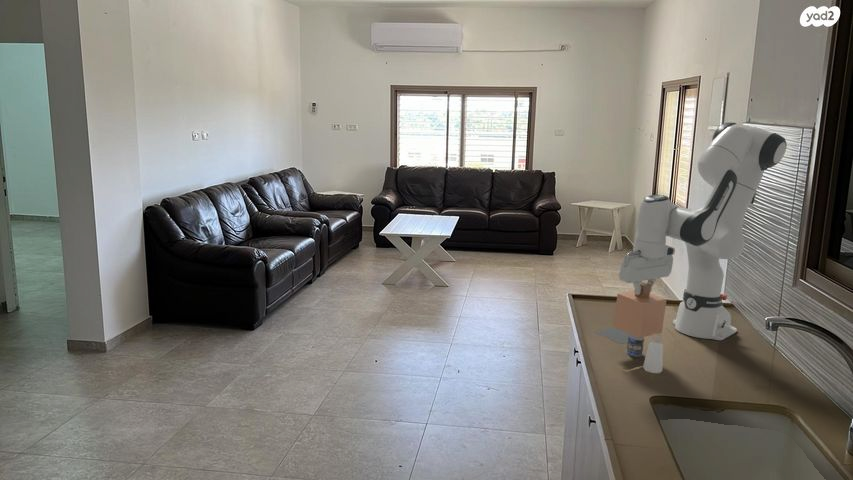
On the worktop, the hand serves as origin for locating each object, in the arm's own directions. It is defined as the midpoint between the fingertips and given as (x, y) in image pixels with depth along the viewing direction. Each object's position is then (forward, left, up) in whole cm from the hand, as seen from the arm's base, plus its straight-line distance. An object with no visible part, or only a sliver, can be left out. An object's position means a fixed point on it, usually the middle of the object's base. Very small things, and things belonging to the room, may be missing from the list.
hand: (642, 293), depth 192 cm
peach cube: (0, 0, -12) cm, 12 cm away
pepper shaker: (+4, +10, -20) cm, 23 cm away
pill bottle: (0, 0, -20) cm, 20 cm away
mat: (-8, -13, -20) cm, 25 cm away
